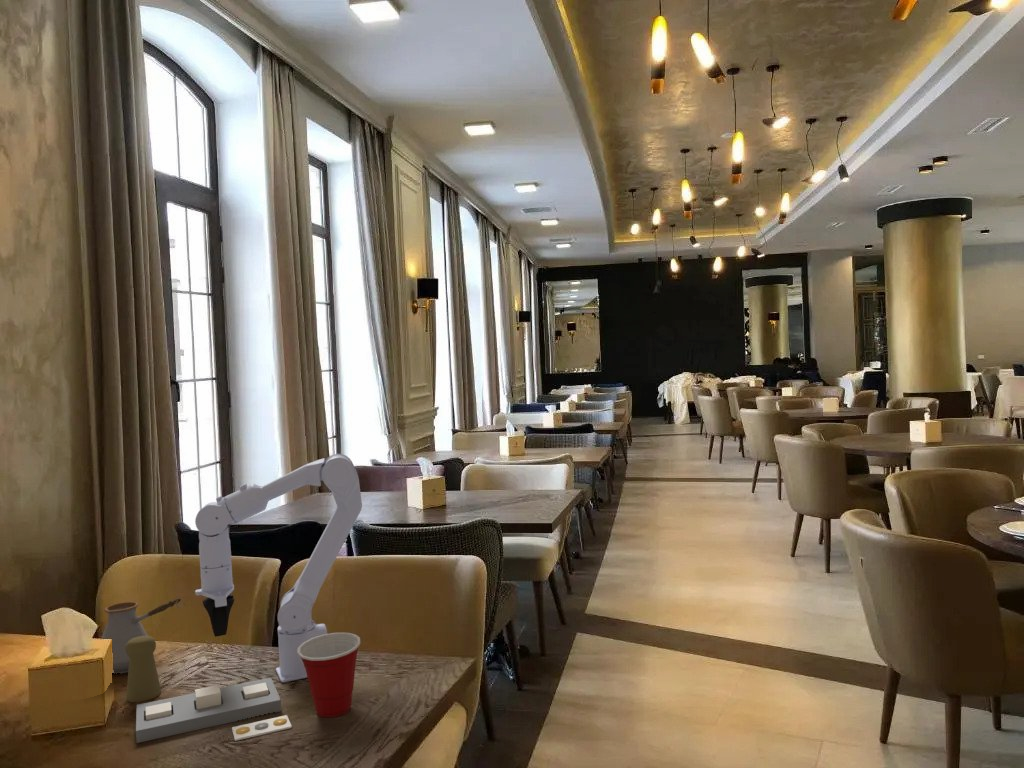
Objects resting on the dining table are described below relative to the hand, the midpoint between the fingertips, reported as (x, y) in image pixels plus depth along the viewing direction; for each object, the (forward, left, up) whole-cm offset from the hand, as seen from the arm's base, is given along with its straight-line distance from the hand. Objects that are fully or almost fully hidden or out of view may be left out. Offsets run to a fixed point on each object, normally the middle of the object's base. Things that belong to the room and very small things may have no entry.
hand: (220, 634), depth 154 cm
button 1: (+11, +14, -9) cm, 20 cm away
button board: (+4, +14, -9) cm, 17 cm away
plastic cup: (-16, +25, -10) cm, 31 cm away
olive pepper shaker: (+14, -2, -10) cm, 17 cm away
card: (-4, +26, -9) cm, 27 cm away
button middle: (+3, +14, -8) cm, 16 cm away
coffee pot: (+14, -18, -10) cm, 25 cm away
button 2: (-5, +14, -9) cm, 17 cm away
